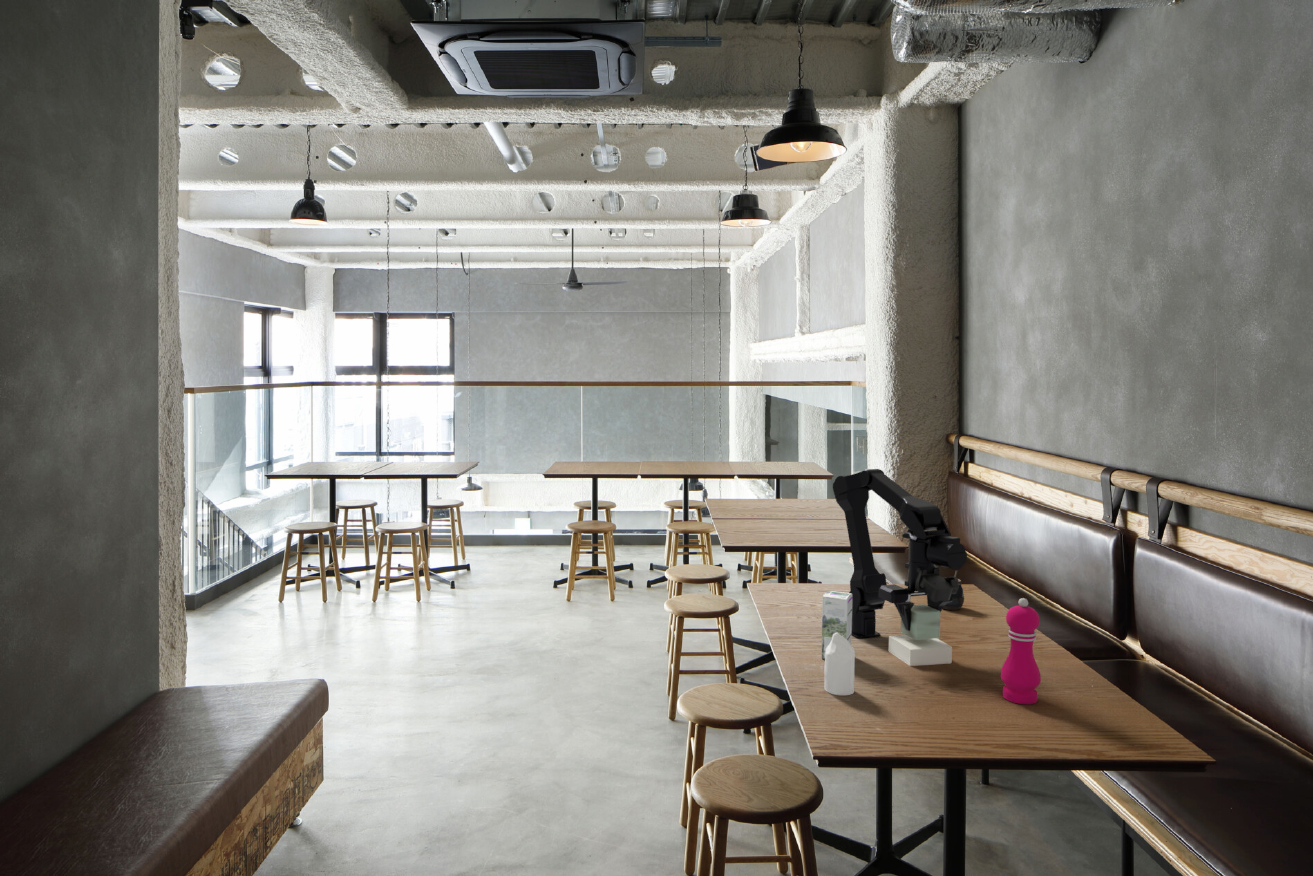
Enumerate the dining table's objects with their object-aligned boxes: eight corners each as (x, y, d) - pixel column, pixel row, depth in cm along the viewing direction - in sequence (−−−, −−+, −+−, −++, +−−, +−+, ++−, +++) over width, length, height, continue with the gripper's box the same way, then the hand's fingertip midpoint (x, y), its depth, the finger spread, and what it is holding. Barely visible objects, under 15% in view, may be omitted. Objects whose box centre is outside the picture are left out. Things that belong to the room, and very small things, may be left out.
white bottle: (859, 631, 167) (849, 638, 162) (858, 689, 168) (847, 698, 163) (831, 626, 170) (820, 633, 166) (830, 683, 171) (819, 691, 167)
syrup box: (851, 655, 189) (853, 592, 188) (846, 663, 184) (847, 598, 183) (826, 651, 192) (828, 589, 191) (820, 659, 186) (821, 595, 185)
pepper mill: (1037, 708, 159) (1041, 605, 157) (996, 700, 163) (1000, 599, 161) (1042, 696, 165) (1046, 597, 164) (1003, 689, 169) (1006, 591, 167)
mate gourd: (933, 609, 228) (933, 573, 228) (939, 603, 235) (940, 568, 234) (960, 613, 224) (961, 576, 224) (966, 607, 231) (967, 571, 230)
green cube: (900, 632, 190) (901, 606, 189) (923, 630, 192) (923, 604, 191) (916, 640, 184) (917, 613, 184) (939, 637, 186) (940, 611, 185)
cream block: (888, 652, 192) (888, 635, 192) (928, 650, 194) (928, 633, 194) (909, 667, 182) (910, 649, 182) (951, 664, 184) (952, 647, 184)
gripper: (907, 571, 176) (905, 643, 177) (981, 565, 182) (978, 636, 183) (877, 560, 187) (876, 628, 188) (948, 555, 192) (946, 622, 194)
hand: (919, 629), depth 188 cm, fingers closed on green cube, 6 cm apart
